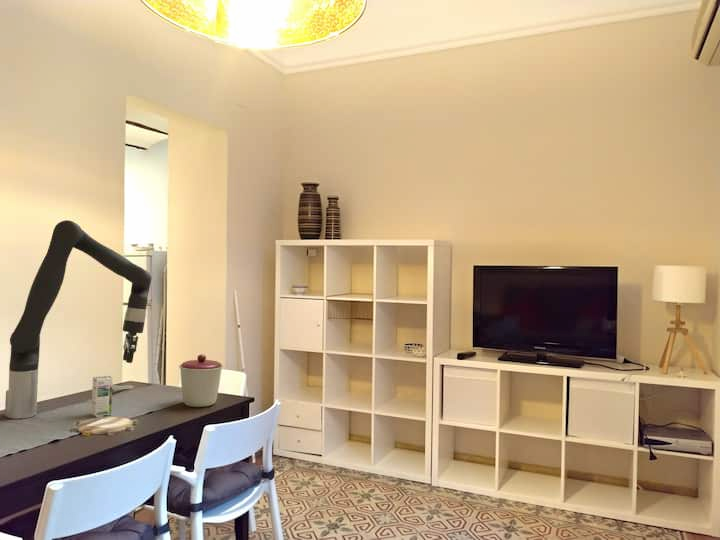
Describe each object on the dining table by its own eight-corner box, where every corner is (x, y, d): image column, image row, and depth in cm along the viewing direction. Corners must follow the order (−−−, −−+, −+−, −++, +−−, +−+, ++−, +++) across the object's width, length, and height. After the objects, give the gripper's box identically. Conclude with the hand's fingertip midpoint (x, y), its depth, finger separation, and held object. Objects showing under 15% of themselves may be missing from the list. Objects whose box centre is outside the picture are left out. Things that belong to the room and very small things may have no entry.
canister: (174, 400, 237) (176, 351, 237) (217, 398, 245) (219, 350, 245) (180, 411, 221) (182, 358, 221) (225, 408, 229) (227, 357, 229)
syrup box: (95, 417, 207) (96, 378, 207) (91, 413, 212) (92, 376, 212) (111, 415, 211) (112, 377, 211) (106, 411, 216) (108, 374, 216)
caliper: (107, 398, 238) (107, 383, 237) (105, 397, 238) (105, 383, 238) (133, 388, 258) (134, 374, 258) (131, 387, 258) (132, 374, 258)
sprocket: (56, 432, 188) (56, 428, 188) (97, 416, 209) (98, 412, 209) (113, 438, 184) (113, 435, 184) (149, 421, 205) (150, 418, 205)
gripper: (121, 318, 221) (114, 359, 219) (127, 319, 209) (119, 362, 207) (141, 320, 225) (134, 360, 223) (147, 322, 213) (140, 364, 211)
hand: (127, 361), depth 215 cm, fingers open, 8 cm apart
